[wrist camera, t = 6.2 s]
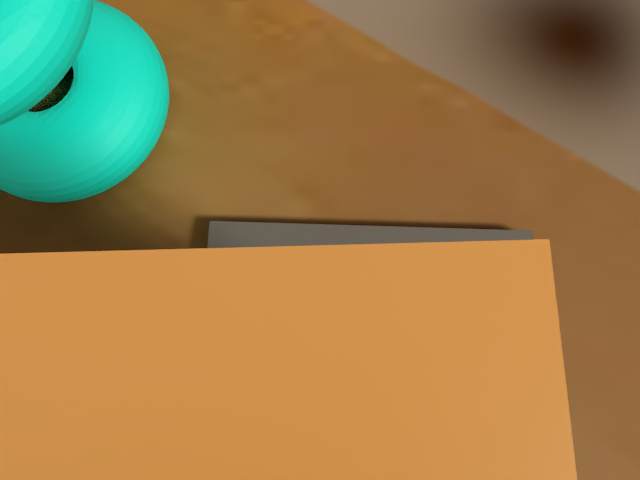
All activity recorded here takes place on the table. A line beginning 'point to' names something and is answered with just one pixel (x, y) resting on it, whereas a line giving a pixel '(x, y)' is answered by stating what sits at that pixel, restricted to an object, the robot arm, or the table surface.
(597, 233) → the table surface
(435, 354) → the plug
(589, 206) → the table surface
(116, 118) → the donuts
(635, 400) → the table surface
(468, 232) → the socket
